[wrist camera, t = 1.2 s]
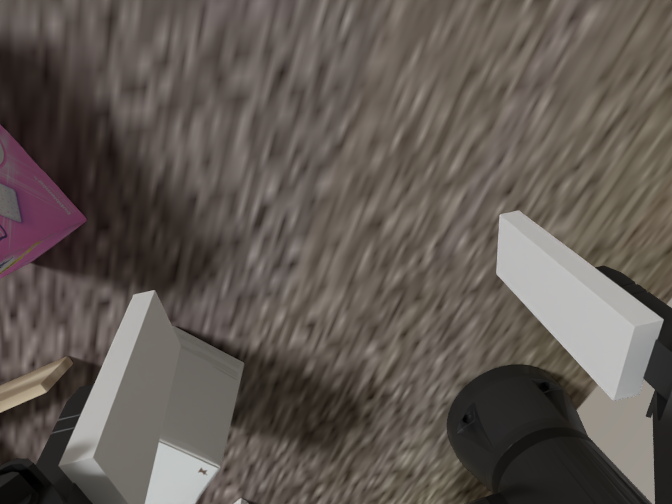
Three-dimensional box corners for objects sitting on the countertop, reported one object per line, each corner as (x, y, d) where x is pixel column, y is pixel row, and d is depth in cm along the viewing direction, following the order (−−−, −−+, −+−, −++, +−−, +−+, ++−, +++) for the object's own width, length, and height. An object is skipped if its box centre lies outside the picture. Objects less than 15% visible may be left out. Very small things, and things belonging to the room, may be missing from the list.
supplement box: (172, 322, 44) (114, 418, 30) (246, 361, 46) (225, 468, 32) (131, 385, 46) (57, 505, 31) (204, 420, 48) (166, 547, 34)
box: (143, 457, 48) (127, 494, 44) (21, 510, 49) (-8, 551, 44) (68, 355, 44) (40, 384, 39) (-66, 414, 44) (-110, 449, 40)
